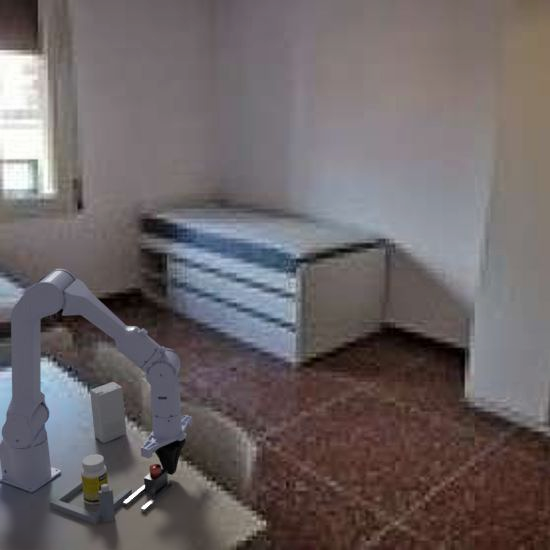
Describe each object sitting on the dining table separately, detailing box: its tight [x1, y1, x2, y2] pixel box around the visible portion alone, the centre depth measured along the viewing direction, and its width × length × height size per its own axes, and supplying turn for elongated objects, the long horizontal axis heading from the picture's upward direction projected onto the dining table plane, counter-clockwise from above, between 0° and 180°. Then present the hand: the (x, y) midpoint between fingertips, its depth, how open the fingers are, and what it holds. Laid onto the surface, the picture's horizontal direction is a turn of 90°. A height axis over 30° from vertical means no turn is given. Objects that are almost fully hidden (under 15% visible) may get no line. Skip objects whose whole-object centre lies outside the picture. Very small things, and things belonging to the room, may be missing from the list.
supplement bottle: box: [80, 453, 109, 506], centre depth 129 cm, size 5×5×8 cm
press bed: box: [48, 477, 133, 525], centre depth 128 cm, size 13×10×7 cm
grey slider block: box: [143, 463, 169, 497], centre depth 132 cm, size 3×4×5 cm, turn 153°
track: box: [122, 482, 174, 514], centre depth 130 cm, size 5×9×1 cm, turn 153°
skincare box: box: [89, 381, 127, 444], centre depth 151 cm, size 6×4×12 cm
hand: (169, 472), depth 136 cm, fingers closed
